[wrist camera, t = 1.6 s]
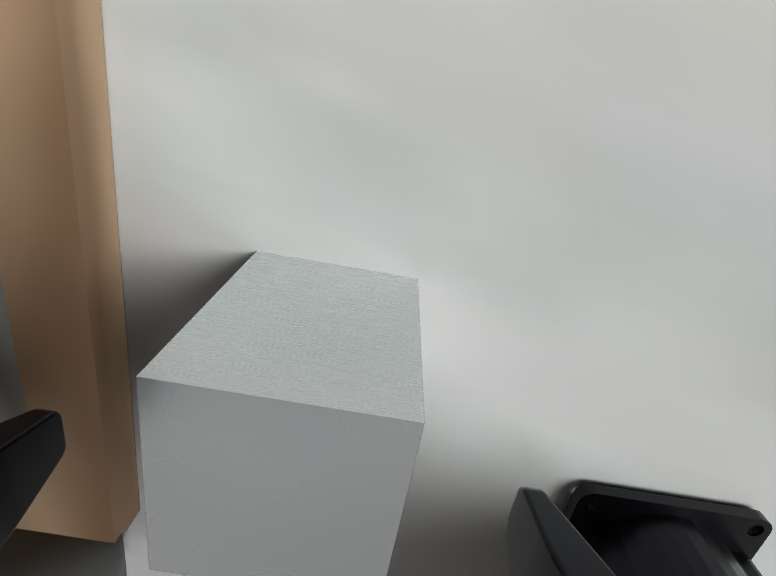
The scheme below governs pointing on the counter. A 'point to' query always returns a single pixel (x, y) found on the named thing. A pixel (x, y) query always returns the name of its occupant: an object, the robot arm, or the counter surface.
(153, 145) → the counter surface
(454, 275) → the counter surface
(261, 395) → the grey rectangular block
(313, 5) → the counter surface
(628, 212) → the counter surface
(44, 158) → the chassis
